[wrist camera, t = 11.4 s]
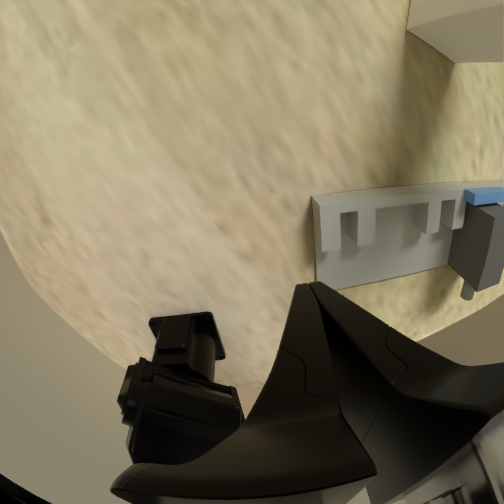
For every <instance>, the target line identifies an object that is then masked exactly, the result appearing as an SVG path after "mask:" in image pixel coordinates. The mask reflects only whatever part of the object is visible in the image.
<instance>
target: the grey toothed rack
mask: <svg viewBox="0 0 504 504" xmlns="http://www.w3.org/2000/svg"><path fill="white" fill-rule="evenodd" d="M466 201H467V202H469V203H471V204H473V205H481V204H490V203H498V204H500V205H502V206H503V207H504V180H492V181H467V182H449V183H434V184H420V185H408V186H396V187H385V188H375V189H366V190H357V191H348V192H339V193H331V194H323V195H315V196H312V209H313V223H314V239H315V259H316V282H317V281H321V282H323V283H324V284H326V285H327V286H329V287H330V288H332V289H333V290H336V289H342V288H347V287H352V286H357V285H362V284H366V283H371V282H376V281H380V280H385V279H390V278H394V277H398V276H403V275H407V274H411V273H416V272H420V271H424V270H428V269H432V268H436V267H440V266H444V265H448V264H447V262H448V257H449V252H450V247H451V241H452V235H453V229H458V228H463V222H464V215H465V207H466Z"/></svg>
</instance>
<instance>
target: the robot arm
mask: <svg viewBox="0 0 504 504" xmlns="http://www.w3.org/2000/svg"><path fill="white" fill-rule="evenodd" d="M207 316H208V317H209V318H207ZM153 322H154V323H153ZM149 326H150V328H151V330H152V332H153V334H154V336H155V338H156V340H157V341H156V344H155V351H154V355H153V358H152V362H150V361H147V360H146V359H145V358H142V357H140V359H139V362H138V363H136V364H135V365H130V366H128V369H127V372H126V375H125V378H124V381H123V384H122V387H121V390H120V393H119V396H118V400H117V402H118V404H119V406H120V408H121V410H122V412H121V414H122V415H123V418H122V423H123V424H125V425H128V426H130V427H129V431H128V435H127V439H126V447H127V449H128V452H129V455H130V458H131V460H132V463H133V465H131V466H130V467H129V468H128V469H126V470H125V471H124V472H123V473H121V474H120V475H119V476H118V477H117V478H116V480H115V481H114V482H113V484H112V486H111V488H110V491H111V493H113V494H114V495H116V496H117V497H120V498H122V499H123V500H126V501H128V502H130V503H132V504H346V503H347V502H348V501H350V500H351V499H352V498H353V497H354V496H355V495H356V494H357V493H359V492H360V491H361V490H362V489H363V488H364V487H365V486H366V489H367V493H368V496H369V499H370V502H371V504H391V503H393V502H396V501H399V500H401V499H404V500H405V503H406V504H504V362H503V363H496V364H489V365H480V366H465V365H460V364H458V363H455V362H453V361H451V360H449V359H447V358H445V357H443V356H441V355H439V354H438V353H436V352H434V351H432V350H430V349H428V348H426V347H424V346H422V345H420V344H419V343H417V342H415V341H413V340H411V339H410V338H408V337H406V336H405V335H403V334H401V333H400V332H398V331H397V330H395V329H394V328H392V327H389V325H387V324H386V323H384V322H383V321H381V320H380V319H378V318H377V317H375V316H374V315H372V314H371V313H369V312H367V311H366V310H364V309H363V308H361V307H360V306H358V305H357V304H355V303H354V302H352V301H351V300H349V299H347V298H346V297H344V296H343V295H341V294H340V293H338V292H337V291H335V290H333V289H332V288H330V287H329V286H327V285H326V284H324V283H323V282H321V281H317V282H311V283H309V284H308V283H304V284H297V285H296V286H295V290H294V294H293V298H292V302H291V306H290V309H289V313H288V317H287V321H286V324H285V328H284V331H283V335H282V339H281V342H280V346H279V349H278V352H277V355H276V359H275V361H274V364H273V367H272V370H271V372H270V374H269V376H268V379H267V381H266V383H265V385H264V387H263V389H262V391H261V393H260V395H259V396H258V398H257V400H256V402H255V404H254V406H253V407H252V409H251V411H250V413H249V414H248V416H247V418H246V419H244V414H243V411H242V407H241V404H240V401H239V397H238V394H237V390H236V387H232V386H225V385H221V384H217V383H214V373H215V360H223V359H225V356H226V354H225V351H224V348H223V344H222V341H221V338H220V335H219V332H218V329H217V326H216V323H215V320H214V316H213V314H212V313H211V312H200V313H192V314H183V315H174V316H165V317H155V318H151V319H150V320H149ZM220 355H222V356H220ZM0 504H51V503H49V502H47V501H46V500H44V499H42V498H40V497H38V496H36V495H34V494H32V493H31V492H29V491H27V490H25V489H24V488H22V487H20V486H19V485H17V484H15V483H14V482H12V481H11V480H9V479H8V478H6V477H5V476H3V475H1V474H0Z"/></svg>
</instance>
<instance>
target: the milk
mask: <svg viewBox="0 0 504 504" xmlns="http://www.w3.org/2000/svg"><path fill="white" fill-rule="evenodd" d="M406 30H407V31H409V32H411V33H412V34H414V35H416V36H417V37H419V38H420V39H422V40H423V41H425V42H426V43H428V44H429V45H431V46H432V47H434V48H435V49H436V50H438V51H439V52H441V53H442V54H443V55H445V56H446V57H447V58H449V59H450V60H451V61H453V62H454V63H471V62H504V0H411V2H410V9H409V15H408V21H407V27H406Z"/></svg>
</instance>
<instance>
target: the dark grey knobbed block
mask: <svg viewBox="0 0 504 504" xmlns="http://www.w3.org/2000/svg"><path fill="white" fill-rule="evenodd" d="M447 264H449V265H450V266H451V267H452V268H453V269H454V270H455V271H456V272H457V273H458V274H459V275H460V276H461V277H462V278H463V279H464V284H463V287H462V291H461V294H460V295H461V297H462V298H463V299H464V300H471V299H472V298H473V295H474V292H475V291H476V292H478V291H481V290H483V289H486V288H488V287H491V286H493V285H496V284H498V283H499V281H500V278H501V275H502V271H503V268H504V207H503V206H502V205H500V204H498V203H490V204H481V205H473V204H471V203H469V202H467V201H466V207H465V215H464V222H463V228H458V229H453V235H452V241H451V247H450V252H449V257H448V262H447Z"/></svg>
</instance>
